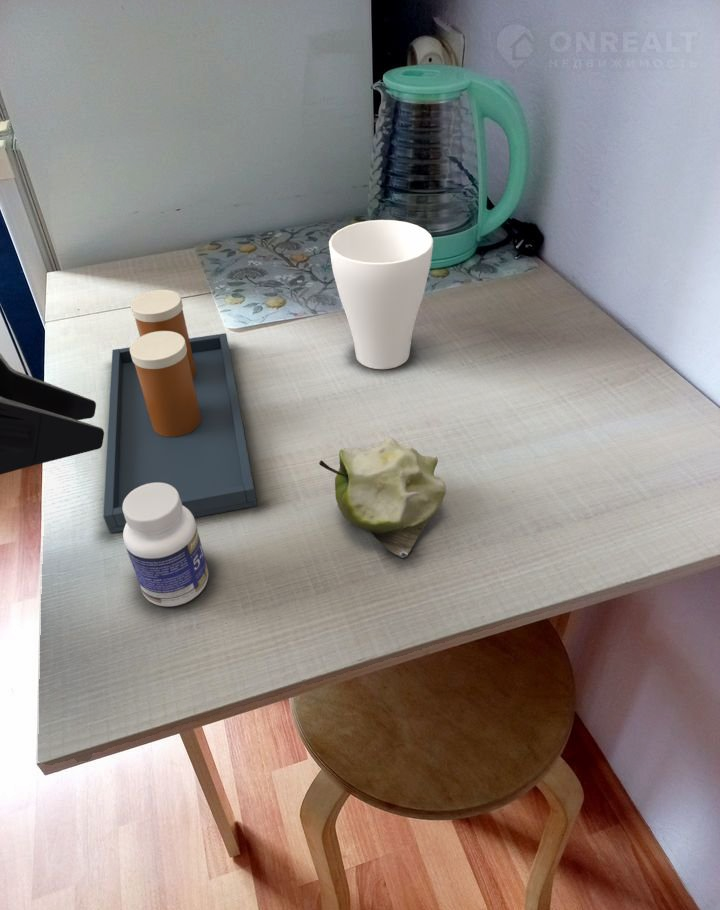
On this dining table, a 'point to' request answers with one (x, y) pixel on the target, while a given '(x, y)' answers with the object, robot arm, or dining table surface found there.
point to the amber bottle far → (162, 316)
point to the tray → (179, 440)
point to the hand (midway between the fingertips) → (98, 422)
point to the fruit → (388, 492)
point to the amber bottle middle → (166, 382)
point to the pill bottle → (163, 545)
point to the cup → (381, 286)
